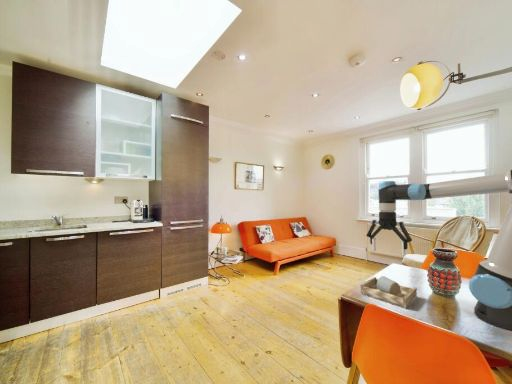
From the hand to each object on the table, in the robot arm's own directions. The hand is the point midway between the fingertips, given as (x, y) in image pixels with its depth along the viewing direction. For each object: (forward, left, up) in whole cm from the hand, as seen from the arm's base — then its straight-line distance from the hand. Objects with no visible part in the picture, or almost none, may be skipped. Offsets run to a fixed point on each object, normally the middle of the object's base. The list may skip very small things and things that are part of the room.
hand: (388, 253), depth 112 cm
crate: (0, 0, -22) cm, 22 cm away
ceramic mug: (0, -1, -21) cm, 21 cm away
